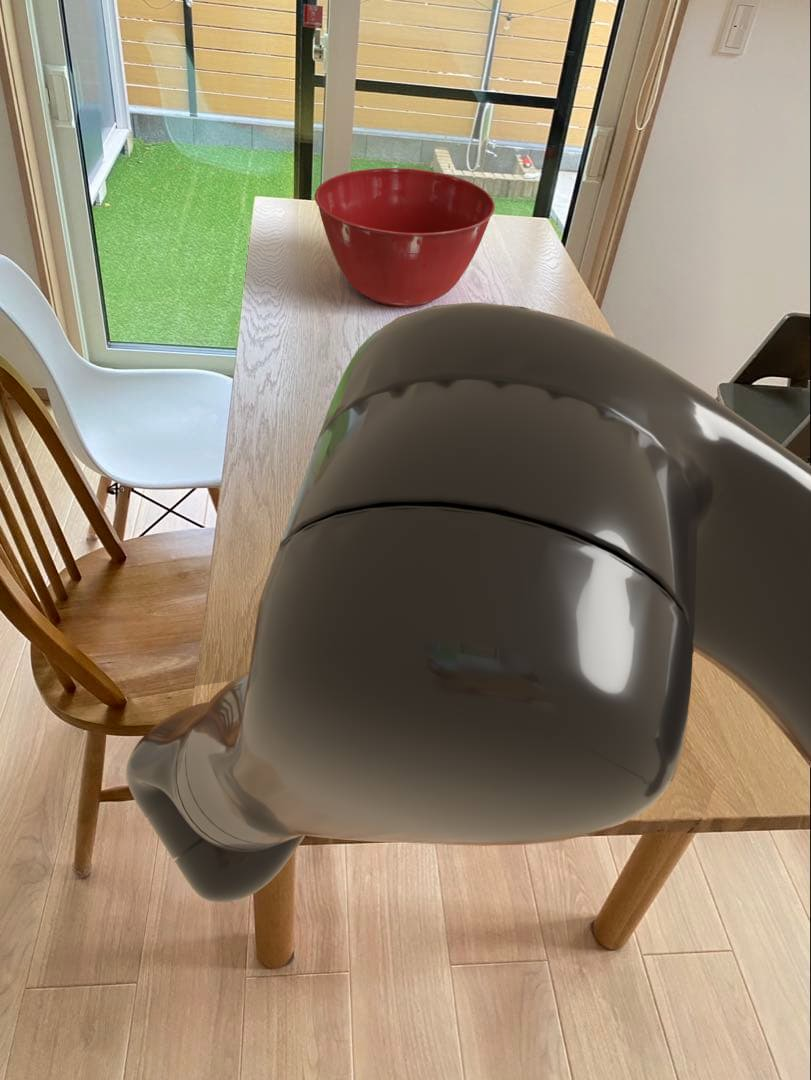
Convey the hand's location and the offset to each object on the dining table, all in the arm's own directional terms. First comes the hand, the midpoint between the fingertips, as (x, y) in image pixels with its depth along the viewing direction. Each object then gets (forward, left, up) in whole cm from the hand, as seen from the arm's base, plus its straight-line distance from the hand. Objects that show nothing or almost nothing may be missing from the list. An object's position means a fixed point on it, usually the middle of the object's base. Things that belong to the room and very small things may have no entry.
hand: (571, 537), depth 62 cm
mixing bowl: (+81, -13, -18) cm, 84 cm away
